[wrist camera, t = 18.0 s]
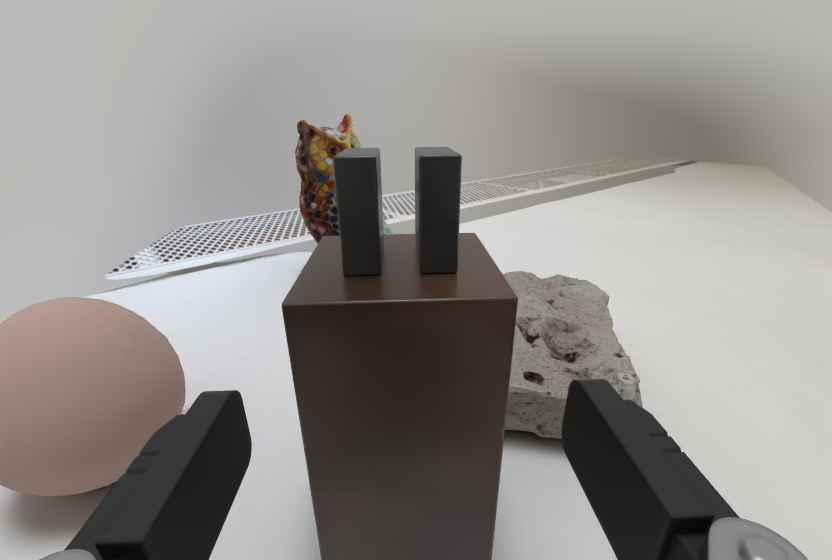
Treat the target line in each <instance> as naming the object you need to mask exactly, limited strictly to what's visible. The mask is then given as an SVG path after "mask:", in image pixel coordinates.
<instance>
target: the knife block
mask: <svg viewBox="0 0 832 560" xmlns="http://www.w3.org/2000/svg"><path fill="white" fill-rule="evenodd" d="M461 158H462V157H461V155H460V154H458V153H457V152H455V151H453V150H452V149H450V148H448V147H417V148H415V225H416V234H396V235H383V213H382V190H381V165H380V149H379V148H346V149H345V150H343V151H342V152H340V153H339V154H337V155H335V156H334V157H333V165H334V176H335V188H336V200H337V211H338V223H339V234H340V236H323V237H322V238H321V240H320V242H319V243H318V245H317V247H316V248H315V250H314V252H313V253H312V255H311V257H310V258H309V260H308V262H307V263H306V265H305V266H304V268H303V270H302V271H301V273H300V275H299V276H298V278H297V280H296V281H295V283H294V285H293V286H292V288H291V290H290V291H289V293H288V294H287V296H286V298H285V299H284V301H283V303H282V312H283V318H284V324H285V331H286V337H287V343H288V350H289V356H290V362H291V369H292V375H293V381H294V388H295V394H296V400H297V407H298V413H299V419H300V426H301V432H302V438H303V445H304V451H305V457H306V464H307V470H308V477H309V483H310V489H311V496H312V502H313V508H314V515H315V521H316V527H317V534H318V540H319V546H320V553H321V559H322V560H491V558H492V548H493V538H494V529H495V519H496V509H497V500H498V490H499V480H500V471H501V461H502V452H503V442H504V432H505V423H506V413H507V403H508V394H509V384H510V375H511V365H512V355H513V346H514V336H515V326H516V317H517V307H518V297H517V295H516V294H515V292H514V291H513V289H512V288H511V286H510V285H509V283H508V282H507V280H506V279H505V277H504V276H503V274H502V273H501V271H500V270H499V268H498V267H497V265H496V264H495V262H494V261H493V259H492V258H491V256H490V255H489V253H488V252H487V250H486V249H485V247H484V246H483V244H482V243H481V241H480V240H479V238H478V237H477V235H476V234H475V233H459V214H460V187H461V160H462V159H461Z"/></svg>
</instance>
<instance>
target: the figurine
mask: <svg viewBox="0 0 832 560" xmlns="http://www.w3.org/2000/svg"><path fill="white" fill-rule="evenodd" d="M352 126H353V125H352V118H351V116H350V115H349V114H346V115H345V116H344V118H343V121H342V122H341V123H340V125H339V126H338V128H337V129H331V128H327V127H319V128H316V127H315V126H314V125H312V124H309V123H308V122H307V121H306V120H301V121H300V122H298V125H297V129H298V132H299V134H300V138H299V140H298V145H297V148H296V152H295V154H296V163H297V170H298V172H299V174H300V177H301V179H302V182H301V193H300V194H301V195H300V211H301V213H302V217H303V219H304V221H305V224H306V226H307V228H308V230H309V231H310V233H311V235H312V236H313V238H314V239H315V240H316V242H317V243H319V242H320V240H321V238H322V237H323V236H340V234H339V223H338V211H337V200H336V188H335V176H334V165H333V157H334V156H335V155H337V154H339V153H340V152H342V151H343V150H345V149H346V148H362V146H361V144H360V142H359V140H358V138H357V137H356V135H355V134H354V133H353V132H352ZM383 235H394V233H393V232H392V231H391V229H390V228H389V227H388V225H387V224H386V223H385V221H384V220H383Z"/></svg>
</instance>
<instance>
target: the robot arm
mask: <svg viewBox="0 0 832 560" xmlns="http://www.w3.org/2000/svg"><path fill="white" fill-rule="evenodd" d="M561 436H562V443H563V447H564V451H565V454H566V456H567V458H568V460H569V462H570V464H571V466H572V468H573V470H574V472H575V474H576V476H577V478H578V480H579V482H580V484H581V486H582V488H583V490H584V492H585V494H586V496H587V498H588V500H589V502H590V504H591V506H592V508H593V510H594V512H595V514H596V516H597V518H598V520H599V522H600V524H601V526H602V528H603V530H604V532H605V534H606V537H607V539H608V541H609V543H610V545H611V547H612V549H613V551H614V553H615V555H616V557H617V559H618V560H808V559H807V558H806V557H805V556H804V554H802V553H801V552H800V551H799V550H798V549H797V548H796V547H795V546H794V545H792V544H791V543H790V542H789V541H787V540H786V539H785V538H783V537H782V536H780V535H779V534H777V533H775V532H774V531H772V530H770V529H769V528H766V527H764V526H762V525H760V524H758V523H755V522H752V521H749V520H746V519H742V518H740V517H739V516H738V515H737V514H736V513H735V512H734V511H733V509H732V508H731V507H730V506H729V505H728V504H727V502H726V501H725V500H724V499H723V498H722V497H721V495H720V494H719V493H718V492H717V491H716V489H715V488H714V487H713V486H712V485H711V484H710V482H709V481H708V480H707V479H706V478H705V477H704V475H703V474H702V473H701V472H700V471H699V469H698V468H697V467H696V466H695V465H694V464H693V462H692V461H691V460H690V459H689V458H688V457H687V455H686V454H685V453H684V452H681V450H680V447H679V446H678V445H677V444H676V442H675V441H674V440H673V439H672V438H671V437H670V436H669V437H668V435H667V432H666V431H665V429H664V428H663V427H662V426H661V425H660V424H659V422H658V421H657V420H656V419H655V418H654V417H653V415H652V414H650V413H649V412H647V411H646V410H645V409H643V408H642V407H640V406H639V405H637V404H636V403H635V402H633V401H632V400H623V399H622V398H621V397H620V395H619V394H618V393H617V392H616V390H615V389H614V388H613V386H612V385H611V384H610V383H609V382H608V381H607V380H606V379H580V380H572V381H571V382H570V384H569V388H568V394H567V400H566V405H565V411H564V417H563V422H562V429H561ZM251 448H252V443H251V436H250V432H249V427H248V423H247V419H246V414H245V410H244V405H243V401H242V397H241V394H240V393H239V392H238V391H236V390H234V391H206V392H202V393H201V394H200V395H199V396H198V398H197V399H196V400H195V402H194V403H193V405H192V406H191V407H190V409H189V410H188V412H187V413H186V414H185V415H176V416H175V417H174V418H173V419H171V420H170V421H169V422H167V423H166V424H165V425H164V426H162V427H161V428H160V429H158V430H157V431H156V432H155V433H154V434H153V435H152V437H151V438H150V439H149V441H148V442H147V443H146V444H145V446H144V447H143V448H142V450H141V451H140V452H139V456H138V457H135V459H134V460H133V461H132V463H131V464H130V465H129V467H128V468H127V469H126V473H125V474H122V476H121V477H120V478H119V480H118V481H117V482H116V484H115V485H114V486H113V488H112V489H111V490H110V491H109V493H108V494H107V495H106V497H105V498H104V499H103V501H102V502H101V503H100V505H99V506H98V507H97V508H96V510H95V511H94V512H93V514H92V515H91V516H90V518H89V519H88V520H87V521H86V523H85V524H84V525H83V527H82V528H81V529H80V531H79V532H78V533H77V535H76V536H75V537H74V538H73V540H72V541H71V542H70V544H69V545H68V546H67V547H66V549H65V550H64V551H60V552H57V553H54V554H51V555H49V556H46V557H44V558H42V559H40V560H209V557H210V555H211V553H212V550H213V548H214V546H215V543H216V541H217V539H218V536H219V534H220V532H221V529H222V527H223V524H224V522H225V520H226V517H227V515H228V513H229V510H230V508H231V506H232V503H233V501H234V499H235V496H236V494H237V492H238V489H239V487H240V485H241V482H242V480H243V477H244V475H245V473H246V470H247V468H248V465H249V462H250V457H251Z"/></svg>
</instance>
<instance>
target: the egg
mask: <svg viewBox="0 0 832 560" xmlns="http://www.w3.org/2000/svg"><path fill="white" fill-rule="evenodd" d="M184 402H185V379H184V373H183V370H182V367H181V364H180V361H179V358H178V355H177V354H176V352H175V350H174V349H173V347H172V346H171V344H170V342H169V341H168V339H167V338H166V337H165V336H164V335H163V334H162V333H161V332H160V331H158V330H157V329H156V328H155V327H154V326H152V325H151V324H150V323H149V322H148V321H147V320H145V319H144V318H143V317H141V316H139V315H138V314H136V313H134V312H133V311H130V310H128V309H126V308H124V307H122V306H120V305H117V304H114V303H111V302H108V301H104V300H99V299H90V298H78V297H77V298H76V297H72V298H71V297H70V298H68V297H66V298H59V299H52V300H48V301H45V302H41V303H37V304H34V305H31V306H29V307H27V308H25V309H23V310H21V311H19V312H17V313H15V314H13V315H12V316H10V317H9V318H7V319H6V320H5V321H3V322H2V323H1V324H0V485H2V486H4V487H7V488H9V489H11V490H15V491H18V492H21V493H25V494H28V495H37V496H63V495H74V494H80V493H84V492H88V491H91V490H95V489H98V488H102V487H105V486H108V485H110V484H112V483H114V482H116V481H118V480H119V478H120V477H121V476H122V474H125V473H126V469H127V468H128V467H129V465H130V464H131V463H132V461H133V460H134V459H135V457H138V456H139V452H140V451H141V450H142V448H143V447H144V446H145V444H146V443H147V442H148V441H149V439H150V438H151V437H152V435H153V434H154V433H155V432H156V431H157V430H158V429H160V428H161V427H162V426H164V425H165V424H166V423H167V422H169V421H170V420H171V419H173V418H174V417H175V416H176V415H181V412H182V409H183V406H184Z"/></svg>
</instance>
